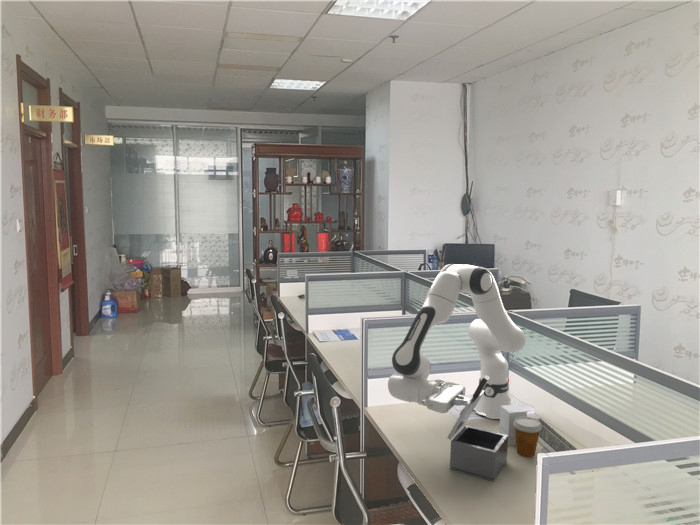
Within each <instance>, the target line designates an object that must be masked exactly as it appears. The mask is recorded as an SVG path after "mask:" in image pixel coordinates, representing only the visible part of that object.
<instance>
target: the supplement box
mask: <svg viewBox="0 0 700 525" xmlns="http://www.w3.org/2000/svg"><path fill="white" fill-rule="evenodd" d="M518 417H528V411H527V410H526V409H525V408H523V407H521V406H520V405H519V404H516V405H505V406H501V408H500V419H499V428H498V429H499V430H498V433H501V434H505V435H508V446H516V436H515V427H514V422H515V419H516V418H518Z"/></svg>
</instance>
